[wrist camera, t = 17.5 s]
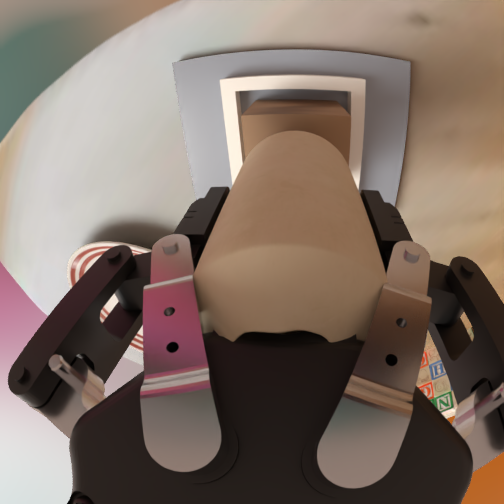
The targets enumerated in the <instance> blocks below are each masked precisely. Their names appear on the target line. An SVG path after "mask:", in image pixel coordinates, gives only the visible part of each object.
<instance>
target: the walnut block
mask: <svg viewBox="0 0 504 504" xmlns="http://www.w3.org/2000/svg"><path fill="white" fill-rule="evenodd" d="M241 121H242V131H243V141H244V151H245V159H246V157H247V156H248V154H249V153H250V151H251V150H252V149H253V148H254V147H255V146H256V145H257V144H259V143H260V142H261V141H262V140H264V139H266V138H267V137H269V136H271V135H274V134H277V133H280V132H285V131H305V132H309V133H313V134H315V135H318V136H320V137H322V138H324V139H326V140H327V141H328V142H330V143H331V144H332V145H334V146H335V147H336V148H337V149H338V150H339V152H340V153H341V154H342V155H343V157H344V159H345V160H346V162H347V164H348V166H349V155H350V138H351V116H350V114H349V113H348V112H347V111H346V110H345V109H344V108H343V107H342V106H341V105H340V104H339V103H338V102H337V101H333V100H309V99H275V100H255V101H254V103H253V104H252V105H251V106H250V107H249V108H248V109H247V110H246V111H245V112H244V113H243V114H242V115H241Z"/></svg>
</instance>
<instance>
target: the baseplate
mask: <svg viewBox="0 0 504 504" xmlns="http://www.w3.org/2000/svg"><path fill="white" fill-rule="evenodd" d="M172 65H173V72H174V79H175V85H176V92H177V98H178V104H179V110H180V116H181V122H182V128H183V134H184V139H185V145H186V150H187V156H188V161H189V166H190V171H191V177H192V182H193V187H194V191H195V196H196V200H198V199H199V198H205V196H206V194H207V193H208V191H209V189H210V188H211V187H223V186H228V187H229V189H230V190H231V188H232V186H233V184H234V181H235V179H236V177H237V175H238V173H239V171H240V169H241V167H242V165H243V163H244V161H245V151H244V141H243V131H242V121H241V115H242V114H243V113H244V112H245V111H246V110H247V109H248V108H249V107H250V106H251V105H252V104H253V103H254V101H255V100H275V99H309V100H333V101H337V102H338V103H339V104H340V105H341V106H342V107H343V108H344V109H345V110H346V111H347V112H348V113H349V114H350V116H351V138H350V155H349V168H350V171H351V173H352V176H353V178H354V181H355V183H356V186H357V188H358V191H359V194H360V192H361V190H362V189H363V190H378V191H379V192H380V194H381V196H382V198H383V200H384V202H387V203H391V204H392V205H393V206H394V207H395V203H396V198H397V192H398V187H399V181H400V176H401V169H402V163H403V156H404V149H405V141H406V132H407V122H408V111H409V96H410V62H409V61H404V60H399V59H394V58H389V57H383V56H376V55H369V54H362V53H353V52H343V51H329V50H302V49H288V50H261V51H247V52H236V53H227V54H220V55H212V56H206V57H200V58H194V59H189V60H184V61H179V62H174V63H172Z"/></svg>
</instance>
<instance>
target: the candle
mask: <svg viewBox="0 0 504 504" xmlns="http://www.w3.org/2000/svg"><path fill="white" fill-rule="evenodd" d="M193 279H194V283H195V288H196V292H197V296H198V300H199V305H200V309H201V316H202V322H203V327H204V333H208V332H213V329H214V330H215V331H216V333H217V334H218V335H219V336H223V337H225V338H227V339H229V340H230V341H233V342H234V341H235V340H237V338H239V337H240V336H241V335H242V334H244V333H245V332H265V333H280V334H293V333H299V332H304V331H309V332H313V333H316V334H319V335H322V336H323V337H324V338H326V339H327V340H328V342H337V341H341V340H344V339H347V338H349V337H352V336H353V335H355V334H356V337H357V339H358V340H362V341H364V340H365V338H366V335H367V332H368V330H369V327H370V324H371V321H372V318H373V315H374V312H375V310H376V307H377V304H378V301H379V298H380V295H381V292H382V289H383V286H384V283H388V280H387V276H386V273H385V269H384V266H383V262H382V259H381V255H380V252H379V249H378V246H377V242H376V239H375V236H374V233H373V230H372V227H371V224H370V221H369V218H368V215H367V213H366V210H365V207H364V204H363V202H362V199H361V196H360V194H359V191H358V188H357V186H356V183H355V181H354V178H353V176H352V173H351V171H350V168H349V166H348V164H347V162H346V160H345V159H344V157H343V155H342V154H341V153H340V152H339V150H338V149H337V148H336V147H335V146H334V145H332V144H331V143H330V142H328V141H327V140H326V139H324V138H322V137H320V136H318V135H315V134H313V133H309V132H305V131H285V132H280V133H277V134H274V135H271V136H269V137H267V138H266V139H264V140H262V141H261V142H260V143H259V144H257V145H256V146H255V147H254V148H253V149H252V150H251V151H250V153H249V154H248V156H247V157H246V159H245V161H244V163H243V165H242V167H241V169H240V171H239V173H238V175H237V177H236V179H235V181H234V184H233V186H232V188H231V190H230V192H229V194H228V197H227V199H226V201H225V203H224V205H223V207H222V210H221V212H220V214H219V216H218V219H217V221H216V223H215V225H214V228H213V230H212V232H211V234H210V237H209V239H208V241H207V244H206V246H205V248H204V250H203V253H202V255H201V258H200V260H199V262H198V265H197V267H196V269H195V272H194V274H193Z"/></svg>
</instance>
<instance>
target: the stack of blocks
mask: <svg viewBox="0 0 504 504" xmlns="http://www.w3.org/2000/svg"><path fill="white" fill-rule="evenodd" d="M467 332H468V334H469V336H470V338H471V340H472V341H473V338H474V334H473V332H472V329H471V328H469V329H468V330H467ZM416 386H417V387H418V388H419V389H420V390H421V391H422V392H423V393H424V394H425V395H426V397H427V398H428V399H429V400H430V401H431V402H432V403H433V404H434V405H435V406H436V408H437V409H438V410H439V411H440V412H441V413H442V414H443V415H444V417H445V418H449V417H451V416H454V415H455V413H456V409H457V407H458V405H457V402H456V399H455V396H454V393H453V390H452V387H451V384H450V382H449V379H448V376H447V374H446V371H445V368H444V366H443V363H442V361H441V358H440V356H439V353H438V351H437V349H436V346H434V347H432V348H429V349H427V350H426V351H424V353H423V358H422V362H421V367H420V371H419V375H418V379H417V383H416Z"/></svg>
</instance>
